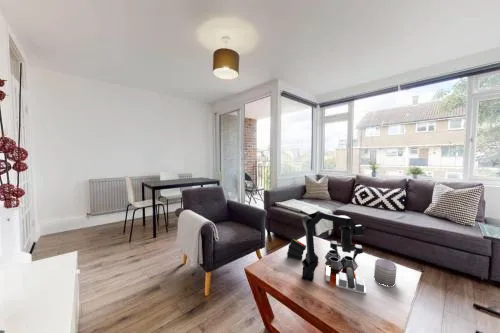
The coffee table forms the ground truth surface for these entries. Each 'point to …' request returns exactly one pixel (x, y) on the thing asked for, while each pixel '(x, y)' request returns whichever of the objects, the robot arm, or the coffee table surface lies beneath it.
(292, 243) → the magazine
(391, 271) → the can
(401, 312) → the coffee table surface
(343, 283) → the white twin post stand
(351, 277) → the lead
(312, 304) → the coffee table surface
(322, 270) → the coffee table surface
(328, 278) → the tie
